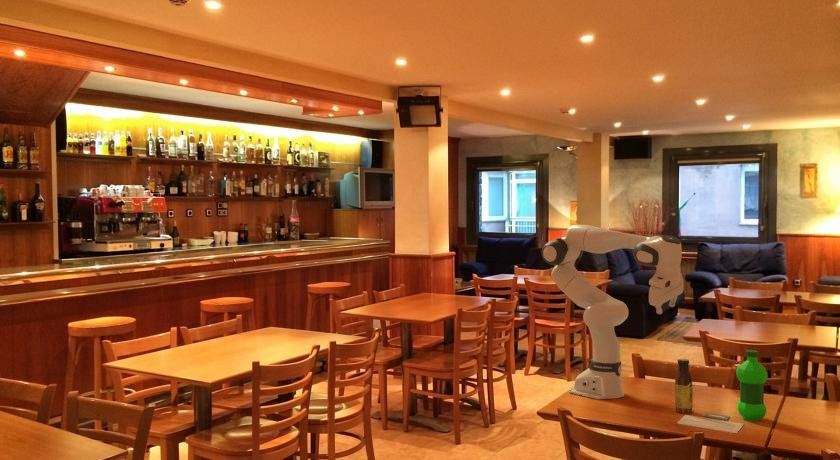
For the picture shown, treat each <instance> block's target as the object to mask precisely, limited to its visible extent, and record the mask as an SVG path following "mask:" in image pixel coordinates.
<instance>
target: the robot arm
mask: <svg viewBox="0 0 840 460" xmlns="http://www.w3.org/2000/svg"><path fill="white" fill-rule="evenodd" d="M622 249H631V250H633V252H632V254H633V258H634V261H635V262H636V263H637V264H638V265H641V266H644V267H655V268H656V272H655V273H654V274H653V276H652V277H651V278H649V281H648V284H649V286H650V287H649V290H648V303H649V305H651V306H653V307H654V308H655V309H656V311H655V312H656V314H658V315H662V314H663V309H662V306H663V304H665V303H667V302H668V307H671V308H674V307H675V306H676V301H677V299H678V296H680V295H682V294H683V292H684V286H685V285H684V278H683V273H682V272H681V271H682V270H681V262H682V255H683V253H682V252H683V251H682V242H681V240H680V239H679V238H678V237H676V236H674V235H668V234H665V235H664V234H660V233H659V234H654V235H644V234H637V233H630V232H624V231H618V230H612V229H609V228H608V229H607V228H603V227H599V226H594V225H589V224H577V223H576V224H572V225H570V226H568V228H567V229H566V232H565V236H564V237H562V238H561V237H558V238H555V239H553V240H550V241H548V242H546V243H545V244H544V245H543V247H542V249H541V258H542V259H543V261H544V262H545V263H546V264H549V265H551V266H554V267H553V268H552V271H551V274H550V275H551V279H552V280H553V283H555V285H556V286H557V287H558V289H559V290H561V291H562V293H564V294H565V296H567V297H568V298H569V299H570V300H571V302H573V303H574V304H575V305H576V306H578V307H580V308H582V309H585V310H584V312H583V316H582V317H583V322H584V324H585V325H586V327H588V330H589V332H590V338H591V341H592V358H591V359H590V360H588V362H586V365H587V366H588V368H587V369H585V370H584V371H582V372H581V373H580V374H578V375H577V376H576V378H575V380H574V384H573V386H571V387H570V388H569V390H571V391H569V390H568V392H570V393H569V394H572V393H573V395H578V396H581V395H582V396H583V397H587V398H591V399H595V400H605V399H606V400H607V399H619V398H623V397H624V396H625V392H624V388H623V384H622V361H621V342H620V341H619V339H618V338H617V334H616V332H615V327H616V326H620V325H621V324H623V323H624V322H625V321H626V320H627V319H628V317H629V308H628V306H627V305H626V303H625V302H623V301H621V300H619V299H616V298H614V297H612V296H611V295H610V294H608V293H606V292H605V291H604V290H601V289H600V288H599V287H597V286H596V285H594V284H593V283H592V282H591V281H590V280H589V279H588V278H586V277H585V276H584V275H583V274H582V273H581V272H580V271H578V270H577V268H576V266H578V264H579V263H580V260H581V258H582V256H583V254H584V252H588V253H591V254H607V253H609V252H612V251H613V252H614V251H617V250H622Z"/></svg>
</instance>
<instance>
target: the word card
mask: <svg viewBox="0 0 840 460" xmlns="http://www.w3.org/2000/svg"><path fill="white" fill-rule="evenodd" d="M703 418H709V419H716V420H722V421H729V419H730V415H725V414H716V413H711V412H706V413H705V414H704V415H703Z"/></svg>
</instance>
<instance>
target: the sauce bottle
mask: <svg viewBox="0 0 840 460" xmlns="http://www.w3.org/2000/svg"><path fill="white" fill-rule="evenodd" d="M689 364H690V360H689V359H688V358H678V359H677V365H678V366H677V370H678V371H677V373H676V375H675V377H674V379H675V380H674V381H675V384H674V407H675V411H676V412H677V413H681V414H690V413H692V412H693V405H694V403H693V401H694V400H693V395H694V394H693V378H692V376H691V373H690V368H689V367H690V366H689Z"/></svg>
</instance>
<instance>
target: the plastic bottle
mask: <svg viewBox="0 0 840 460" xmlns="http://www.w3.org/2000/svg"><path fill="white" fill-rule="evenodd" d="M745 356H746V360H745V361H743V362H742V363H740V364H739V365H738V366H737V367H736V373H735V374H736V377H737V380H739V401H738V402H737V406H736V408H737V411H738V414H739V415H740V417H742V419H743V418H744V420H746V421H749V420H750V421H751V422H758V420H759V421H760V420H761V419H763V418H764V417H765V416H766V415H767V407H766V405H765V402H764V399H765V398H764V395H765V394H764V392H765V391H764V389H765V385H764V384H765V383H767V380H768V376H769V375H768V374H769V373H768V371H767V368H765V366H764V365H762V364H761V363H760V362H759V360H758V358H759V351H758V350H754V349H746V350H745ZM757 360H758V361H757Z"/></svg>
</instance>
